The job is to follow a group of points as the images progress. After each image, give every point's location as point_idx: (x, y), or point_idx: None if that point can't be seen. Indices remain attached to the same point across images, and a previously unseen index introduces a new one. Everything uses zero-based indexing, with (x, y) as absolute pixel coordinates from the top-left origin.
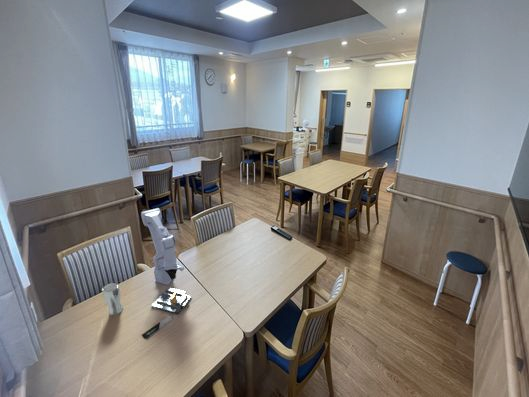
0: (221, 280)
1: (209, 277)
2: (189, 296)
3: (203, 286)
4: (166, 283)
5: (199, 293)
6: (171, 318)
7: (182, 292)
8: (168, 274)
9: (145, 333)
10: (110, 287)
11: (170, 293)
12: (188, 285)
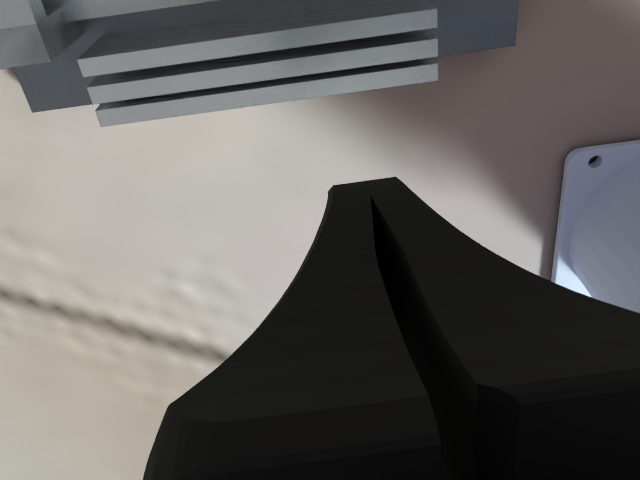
0: (4, 453)
1: None
2: (52, 100)
3: (95, 322)
4: (601, 160)
5: (29, 217)
6: None
7: (137, 87)
8: (494, 257)
9: None
10: None
11: (377, 1)
12: (281, 261)
